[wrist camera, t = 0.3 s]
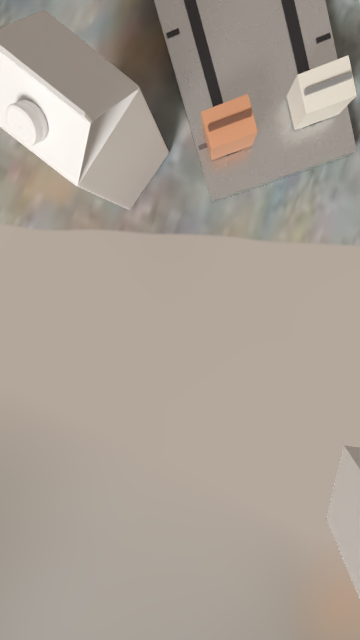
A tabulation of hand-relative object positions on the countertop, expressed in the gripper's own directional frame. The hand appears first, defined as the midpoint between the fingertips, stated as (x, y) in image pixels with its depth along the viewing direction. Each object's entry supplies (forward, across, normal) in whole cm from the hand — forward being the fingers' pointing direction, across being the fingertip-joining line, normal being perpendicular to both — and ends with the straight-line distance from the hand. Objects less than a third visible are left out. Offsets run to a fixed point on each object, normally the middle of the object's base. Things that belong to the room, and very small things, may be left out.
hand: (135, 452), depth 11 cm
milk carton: (+28, -9, +14) cm, 33 cm away
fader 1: (+26, +2, +17) cm, 31 cm away
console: (+28, +3, +24) cm, 37 cm away
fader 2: (+26, +9, +20) cm, 34 cm away
